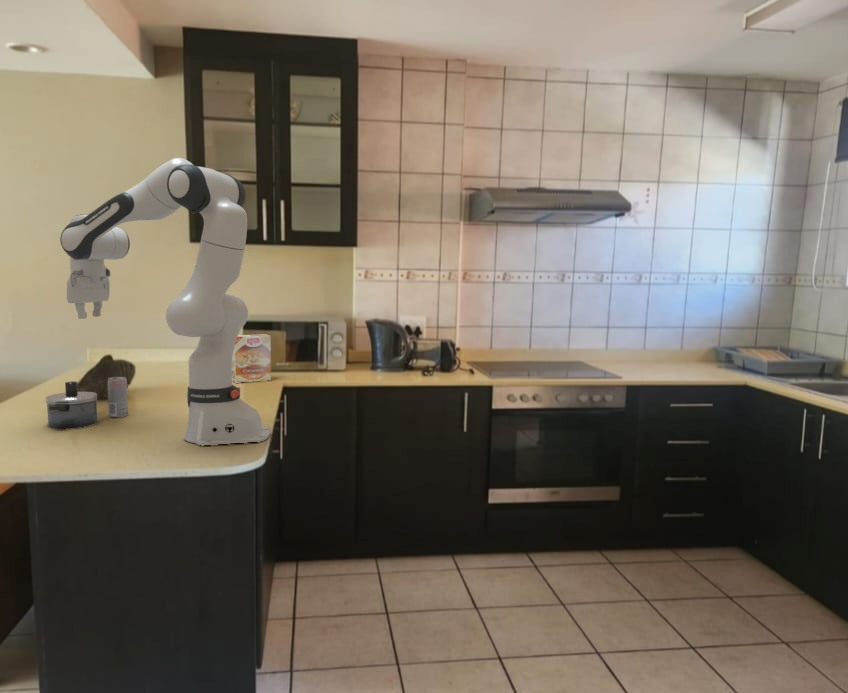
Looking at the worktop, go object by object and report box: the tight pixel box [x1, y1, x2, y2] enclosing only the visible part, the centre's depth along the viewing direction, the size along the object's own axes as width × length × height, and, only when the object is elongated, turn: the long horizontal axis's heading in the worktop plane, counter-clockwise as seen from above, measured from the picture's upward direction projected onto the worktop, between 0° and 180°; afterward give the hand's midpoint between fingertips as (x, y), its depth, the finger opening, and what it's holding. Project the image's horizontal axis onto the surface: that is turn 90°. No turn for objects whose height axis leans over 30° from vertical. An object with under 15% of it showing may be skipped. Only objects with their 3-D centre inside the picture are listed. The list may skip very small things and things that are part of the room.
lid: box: [45, 380, 98, 403], centre depth 180 cm, size 13×13×5 cm
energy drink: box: [107, 376, 129, 418], centre depth 191 cm, size 5×5×12 cm
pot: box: [45, 396, 98, 430], centre depth 181 cm, size 13×18×8 cm
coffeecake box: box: [232, 333, 272, 384], centre depth 257 cm, size 15×7×20 cm, turn 120°
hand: (89, 317), depth 183 cm, fingers open, 8 cm apart
